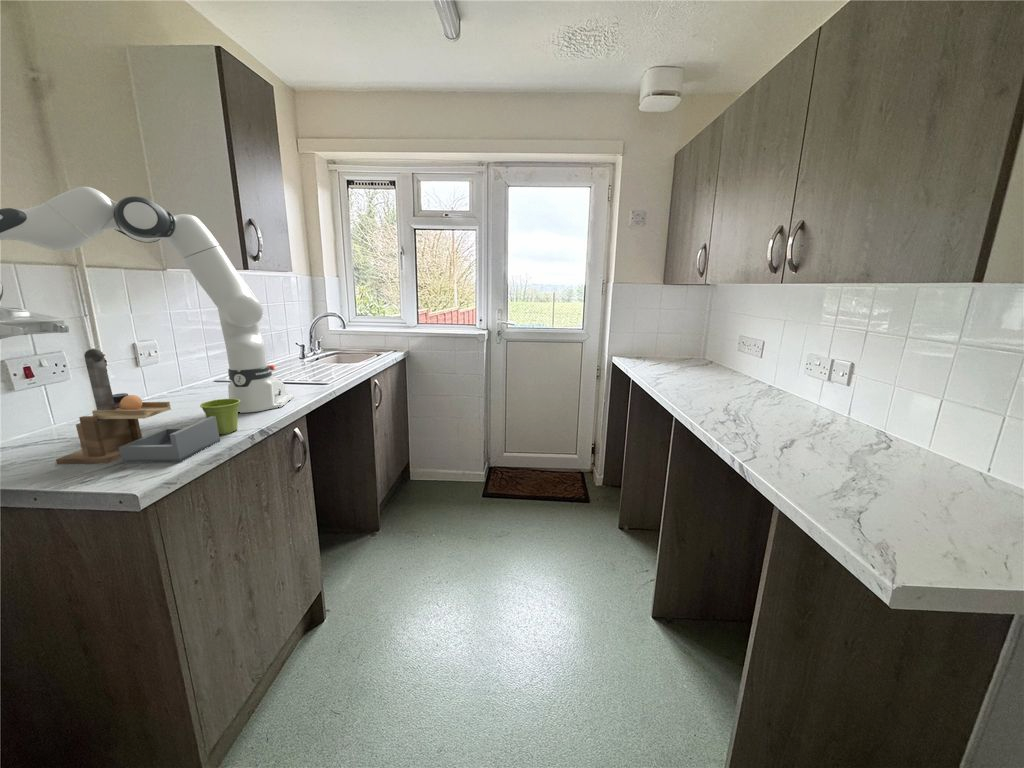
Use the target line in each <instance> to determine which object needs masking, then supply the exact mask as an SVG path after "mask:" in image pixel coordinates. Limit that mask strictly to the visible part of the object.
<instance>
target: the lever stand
mask: <svg viewBox="0 0 1024 768" xmlns="http://www.w3.org/2000/svg"><path fill="white" fill-rule="evenodd" d="M75 427H76V431H77V436H78V439H79V443H80V447H81V449H79V450H77V451H74V452H72V453H68V454H66V455H64V456H61V457H58V458H56V459H55V462H56V465H77V464H78V465H81V464H83V465H84V464H85V465H88V464H89V465H90V464H91V465H92V464H93V465H94V464H95V465H96V464H97V465H99V464H111V463H112V462H115V461H117V460H119V459H121V456H120V451H119V447H120V446H123V445H125V444H128V443H130V442H133V441H135V440H137V439H140V438H142V437H143V436H142V431H141V428H140V427H141V426H140V422H139V419H104V420H101V421H97V417H96V416H93V415H86V416H85V415H83V416H80V417H79V423H76V424H75Z"/></svg>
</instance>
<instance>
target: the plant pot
mask: <svg viewBox="0 0 1024 768" xmlns="http://www.w3.org/2000/svg"><path fill="white" fill-rule="evenodd" d="M239 403H240V400H239V399H229V398H220V399H213V400H208V401H204V402H201V403H200V404H199V407H200V408H201V409H202V411H203V412H204V414H205V417H206V418H209V417H211V416H216V421H217V427H218V433H219V435H227V434H232V433H234V432H235V431H238V407H239ZM233 431H234V432H233ZM231 432H232V433H231Z"/></svg>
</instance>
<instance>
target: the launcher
mask: <svg viewBox="0 0 1024 768" xmlns="http://www.w3.org/2000/svg"><path fill="white" fill-rule="evenodd" d="M83 357H84V360H85V361H84V362H85V365H86V370H87V373H88V377H89V378H88V379H89V382H90V386H91V389H92V390H91V391H92V395H93V398H94V403H95V406H96V409H94V410H92V411H91V412H92V416H96V417H97V421H101V420H104V419H138V420H139V419H140V420H141V419H142V420H143V419H148V418H150V417H151V418H152V417H154V416H156V415H159V414H162V413H165V412H168V411H170V410H172V408H171V403H170V401H142V406H141V408H139V409H138V410H124V409H123V408H122V407H121V405H120V403H119V406H120V408H117V409H116V408H115V404H114V399H113V395H114V394H113V391H112V387H111V382H110V378H109V374H108V369H107V367H106V365H107V364H106V361H105V356H104V354H103V352H102V351H101V350H98V349H96V348H94V349H93V348H92V349H88V350H87V351H85V352H84V356H83Z"/></svg>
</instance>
